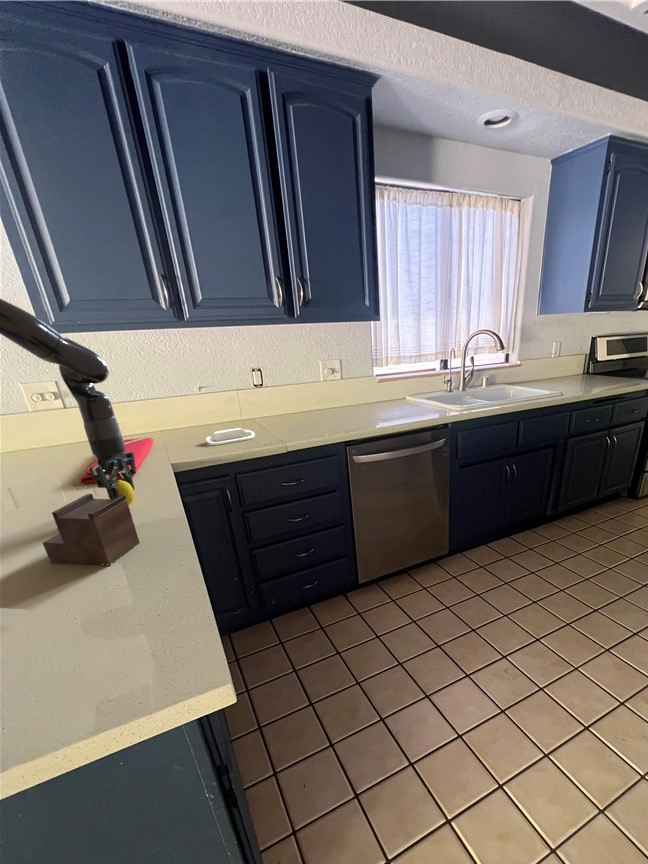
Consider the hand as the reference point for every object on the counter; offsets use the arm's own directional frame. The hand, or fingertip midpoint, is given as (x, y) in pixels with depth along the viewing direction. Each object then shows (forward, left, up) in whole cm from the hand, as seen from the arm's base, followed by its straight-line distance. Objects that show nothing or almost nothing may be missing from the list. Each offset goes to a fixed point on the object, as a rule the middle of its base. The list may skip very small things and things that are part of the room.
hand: (123, 495), depth 117 cm
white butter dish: (-1, +68, -4) cm, 68 cm away
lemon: (0, 0, -4) cm, 4 cm away
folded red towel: (-28, +37, -4) cm, 47 cm away
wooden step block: (+10, -24, -3) cm, 26 cm away
